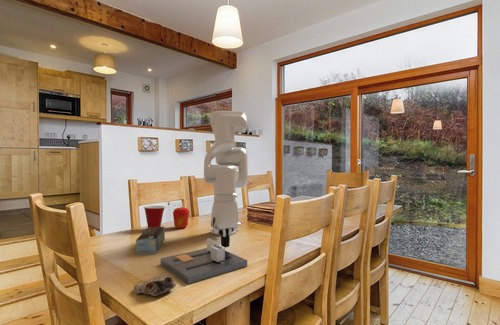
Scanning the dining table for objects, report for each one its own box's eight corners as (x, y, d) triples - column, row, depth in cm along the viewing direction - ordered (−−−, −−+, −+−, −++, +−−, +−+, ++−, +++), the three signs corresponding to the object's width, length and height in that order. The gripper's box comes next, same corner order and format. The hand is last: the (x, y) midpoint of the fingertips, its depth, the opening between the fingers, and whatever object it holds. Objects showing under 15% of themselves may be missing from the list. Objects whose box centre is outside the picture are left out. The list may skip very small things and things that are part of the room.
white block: (218, 256, 96) (218, 243, 96) (224, 259, 93) (224, 246, 93) (210, 258, 94) (210, 245, 94) (217, 261, 91) (217, 248, 91)
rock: (179, 288, 78) (154, 275, 83) (179, 271, 76) (153, 258, 81) (155, 310, 71) (129, 293, 76) (153, 291, 69) (127, 275, 74)
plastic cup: (169, 227, 149) (169, 204, 149) (158, 232, 139) (159, 207, 138) (150, 226, 151) (150, 203, 151) (138, 230, 141) (139, 207, 140)
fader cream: (213, 247, 106) (213, 236, 106) (219, 250, 103) (219, 238, 103) (207, 249, 104) (207, 237, 104) (212, 252, 101) (212, 239, 101)
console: (215, 251, 110) (215, 245, 110) (247, 266, 94) (247, 259, 94) (160, 264, 96) (160, 257, 96) (188, 284, 80) (188, 276, 80)
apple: (191, 228, 146) (191, 206, 146) (175, 230, 142) (175, 207, 142) (186, 225, 154) (186, 203, 154) (171, 226, 150) (171, 204, 150)
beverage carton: (134, 255, 105) (134, 237, 105) (146, 240, 124) (146, 226, 124) (156, 254, 106) (156, 237, 106) (165, 240, 125) (165, 225, 125)
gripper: (235, 195, 114) (235, 240, 114) (203, 198, 105) (203, 247, 105) (246, 197, 108) (246, 244, 109) (214, 201, 99) (213, 252, 99)
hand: (225, 246), depth 107 cm, fingers closed
